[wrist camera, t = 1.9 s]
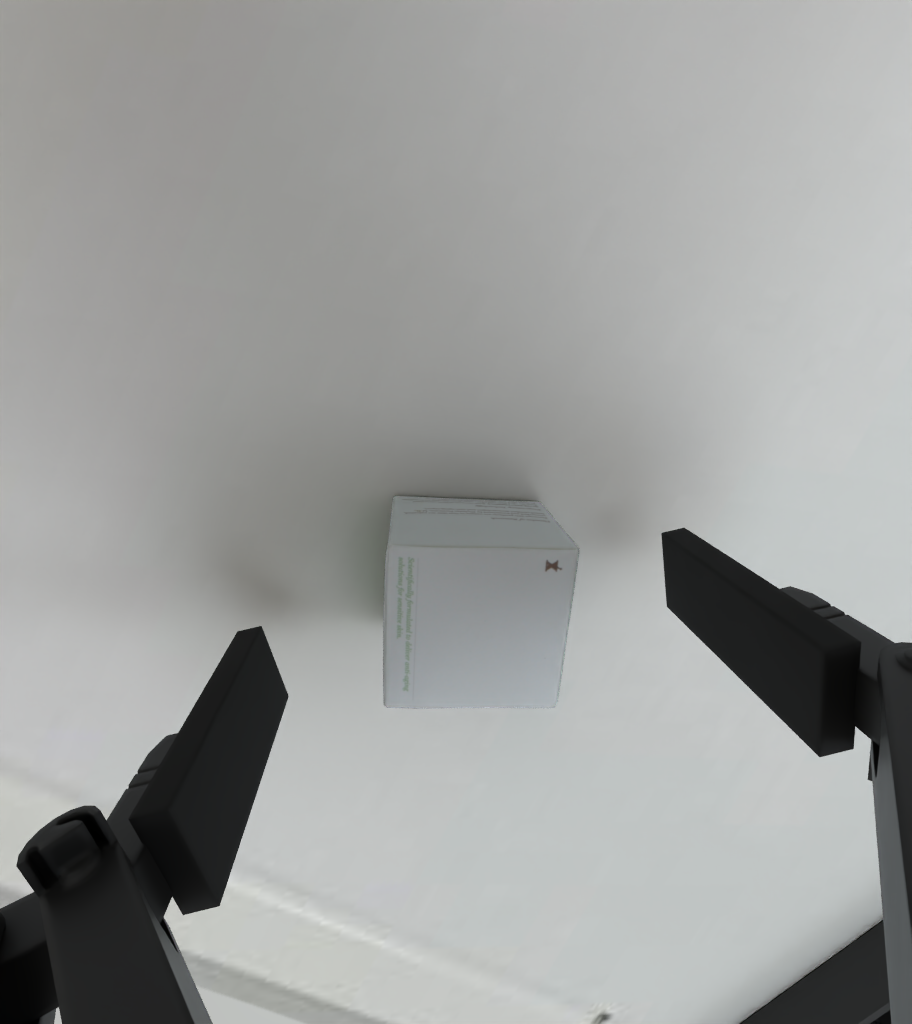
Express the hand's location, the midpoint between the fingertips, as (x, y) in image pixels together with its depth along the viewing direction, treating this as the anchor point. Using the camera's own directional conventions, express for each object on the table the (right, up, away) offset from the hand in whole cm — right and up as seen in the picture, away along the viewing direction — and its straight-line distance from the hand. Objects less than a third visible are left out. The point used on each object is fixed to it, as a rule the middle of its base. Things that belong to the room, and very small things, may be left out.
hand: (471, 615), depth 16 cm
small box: (0, +1, +3) cm, 4 cm away
